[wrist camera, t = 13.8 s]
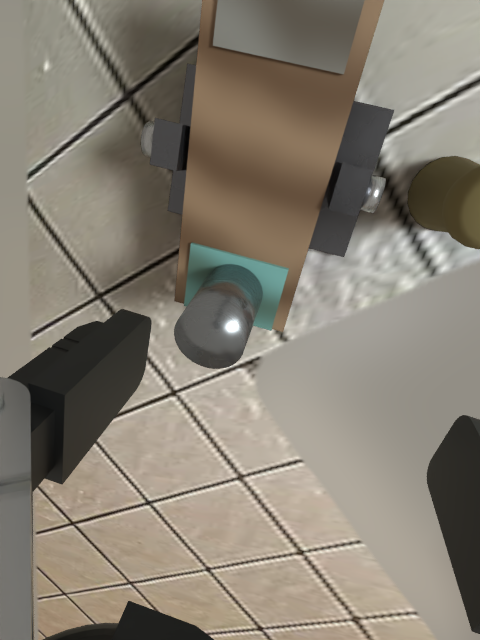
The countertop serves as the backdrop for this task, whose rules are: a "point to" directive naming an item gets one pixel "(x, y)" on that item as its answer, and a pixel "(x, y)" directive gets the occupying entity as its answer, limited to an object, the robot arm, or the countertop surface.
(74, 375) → the robot arm
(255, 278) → the cylinder
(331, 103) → the beam
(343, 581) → the countertop surface
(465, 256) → the countertop surface
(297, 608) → the countertop surface
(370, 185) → the seesaw stand
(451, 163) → the olive brown waisted cylinder
